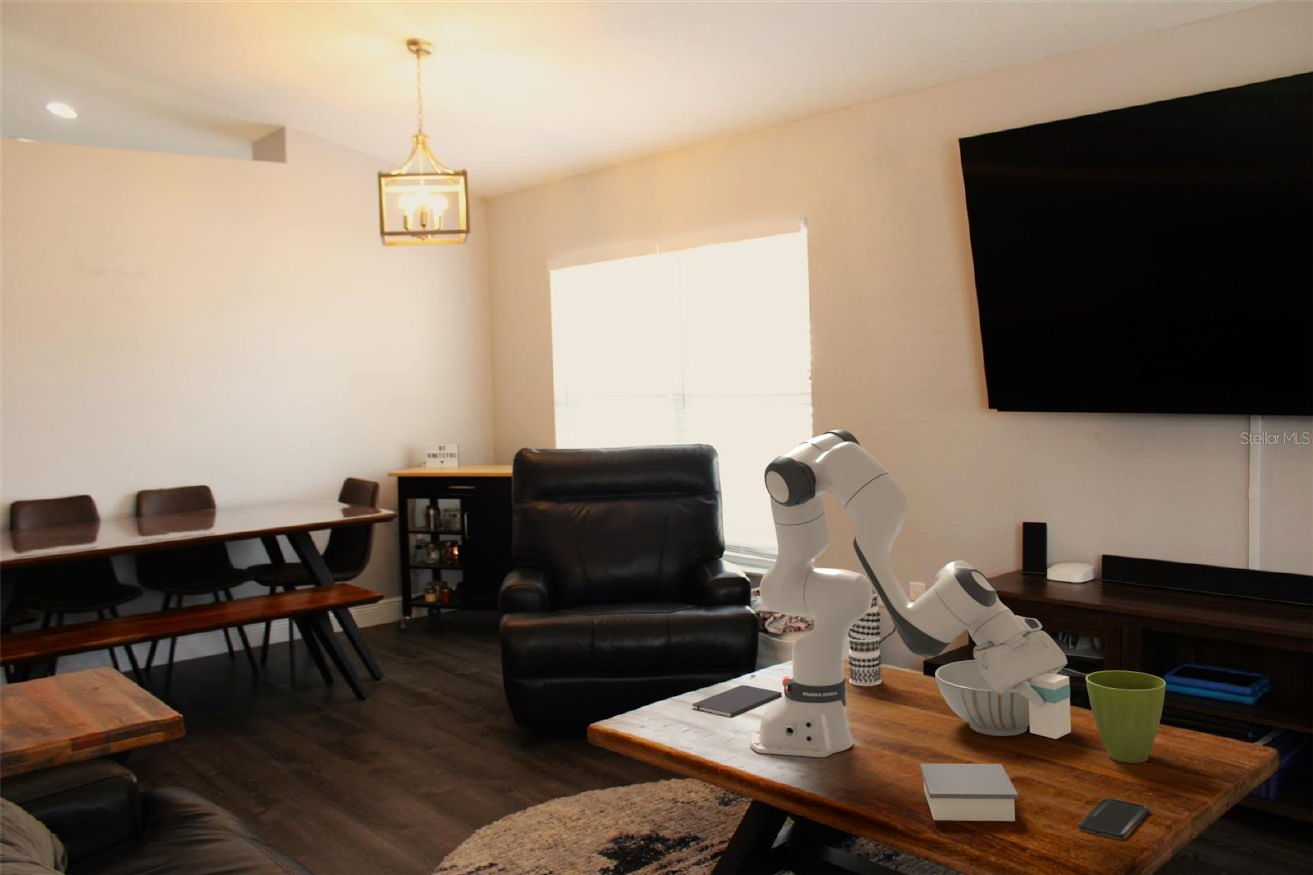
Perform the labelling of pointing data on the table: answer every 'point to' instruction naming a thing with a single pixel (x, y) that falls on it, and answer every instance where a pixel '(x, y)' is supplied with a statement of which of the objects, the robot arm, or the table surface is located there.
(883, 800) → the table surface
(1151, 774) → the table surface
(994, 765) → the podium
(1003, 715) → the decorative bowl
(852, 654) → the decorative candle
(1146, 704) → the flower pot
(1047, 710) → the carton
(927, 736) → the table surface
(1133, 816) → the phone
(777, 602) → the robot arm
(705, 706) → the notebook
